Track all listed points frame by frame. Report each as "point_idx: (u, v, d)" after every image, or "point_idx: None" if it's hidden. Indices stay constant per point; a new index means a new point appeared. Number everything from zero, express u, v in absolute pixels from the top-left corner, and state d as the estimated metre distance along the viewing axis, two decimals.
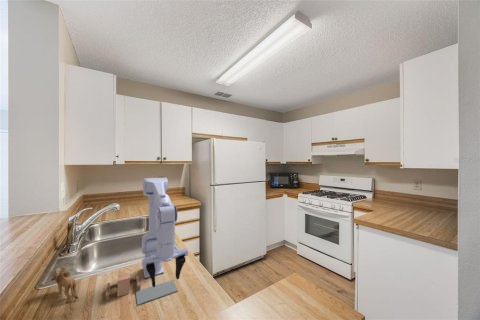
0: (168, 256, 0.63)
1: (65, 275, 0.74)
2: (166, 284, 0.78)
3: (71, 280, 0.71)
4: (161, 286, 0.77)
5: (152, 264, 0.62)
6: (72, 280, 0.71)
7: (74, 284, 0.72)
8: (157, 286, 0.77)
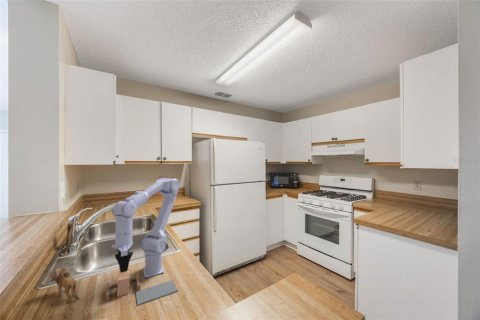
0: (115, 244, 0.73)
1: (65, 275, 0.74)
2: (166, 284, 0.78)
3: (71, 280, 0.71)
4: (161, 286, 0.77)
5: None
6: (72, 280, 0.71)
7: (74, 284, 0.71)
8: (157, 286, 0.77)
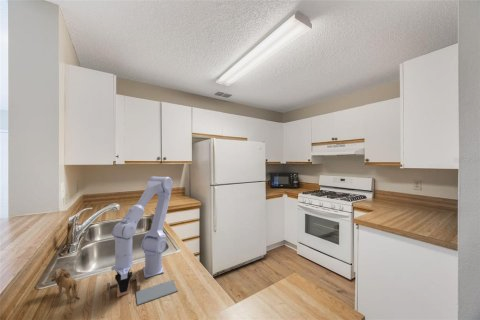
0: (115, 265, 0.73)
1: (65, 276, 0.73)
2: (166, 284, 0.78)
3: (72, 281, 0.71)
4: (161, 286, 0.77)
5: None
6: (73, 281, 0.71)
7: (75, 285, 0.71)
8: (157, 286, 0.77)
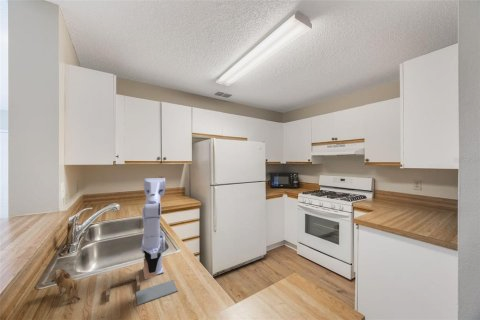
0: (143, 246, 0.73)
1: (65, 276, 0.73)
2: (166, 284, 0.78)
3: (72, 281, 0.71)
4: (161, 286, 0.77)
5: None
6: (73, 281, 0.71)
7: (75, 285, 0.71)
8: (157, 286, 0.77)
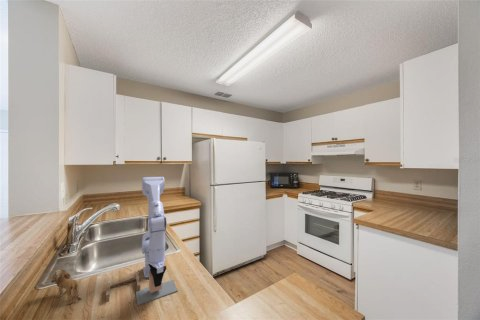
0: (149, 259, 0.73)
1: (66, 277, 0.73)
2: (166, 284, 0.78)
3: (73, 281, 0.70)
4: None
5: None
6: (74, 281, 0.71)
7: (76, 285, 0.71)
8: None
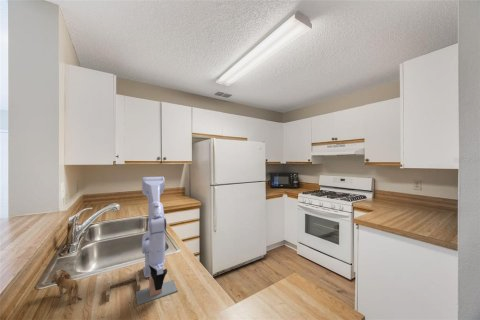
0: (149, 261, 0.73)
1: (66, 277, 0.73)
2: (166, 284, 0.78)
3: (73, 281, 0.70)
4: None
5: None
6: (74, 281, 0.71)
7: (76, 285, 0.71)
8: None
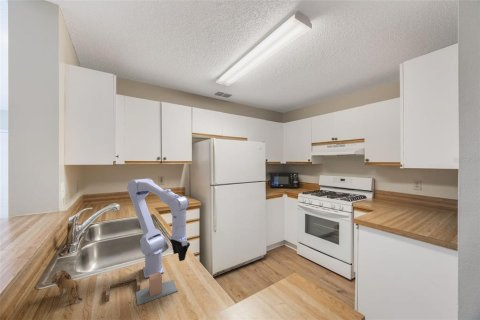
0: (172, 236, 0.81)
1: (66, 277, 0.72)
2: (166, 284, 0.78)
3: (74, 282, 0.70)
4: None
5: None
6: (75, 282, 0.70)
7: (77, 286, 0.71)
8: None
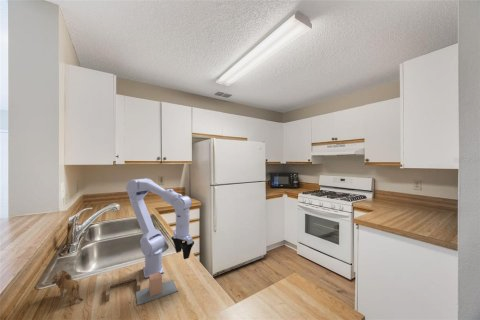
0: (176, 235, 0.82)
1: (67, 278, 0.72)
2: (166, 284, 0.78)
3: (74, 282, 0.70)
4: None
5: None
6: (75, 282, 0.70)
7: (78, 286, 0.70)
8: None
